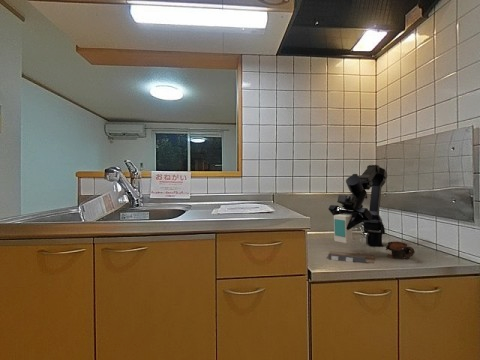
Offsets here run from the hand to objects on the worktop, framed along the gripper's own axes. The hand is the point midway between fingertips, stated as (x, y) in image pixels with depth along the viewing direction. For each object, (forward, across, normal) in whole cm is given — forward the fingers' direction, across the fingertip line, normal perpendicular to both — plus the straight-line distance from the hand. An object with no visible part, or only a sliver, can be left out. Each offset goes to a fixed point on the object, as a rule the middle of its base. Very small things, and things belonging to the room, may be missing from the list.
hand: (340, 228), depth 120 cm
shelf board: (+8, +3, +11) cm, 13 cm away
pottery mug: (-4, +14, +23) cm, 28 cm away
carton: (+3, 0, +5) cm, 6 cm away
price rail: (+12, +5, +6) cm, 14 cm away
